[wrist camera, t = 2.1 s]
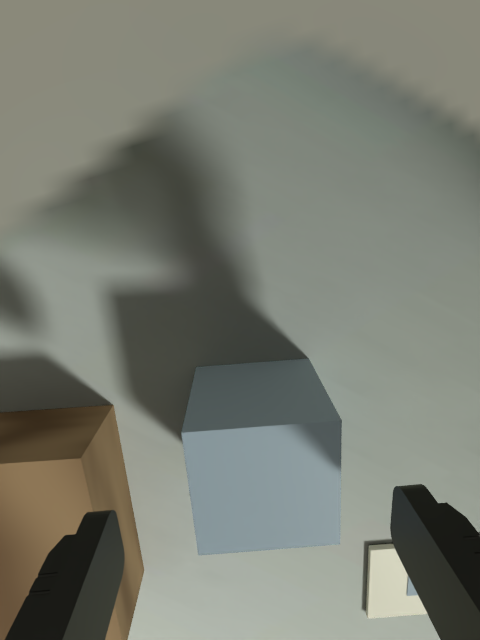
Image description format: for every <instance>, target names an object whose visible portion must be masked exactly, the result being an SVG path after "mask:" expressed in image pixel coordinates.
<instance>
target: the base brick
mask: <svg viewBox="0 0 480 640" xmlns="http://www.w3.org/2000/svg"><path fill="white" fill-rule="evenodd" d="M106 510H115V511H116V513H117V518H118V522H119V527H120V532H121V537H122V542H123V546H124V553H125V562H124V571H123V576H122V580H121V583H120V587H119V591H118V594H117V598H116V602H115V605H114V609H113V613H112V616H111V620H110V623H109V627H108V631H107V634H106V638H105V640H127V639H128V635H129V631H130V627H131V622H132V618H133V614H134V610H135V606H136V602H137V598H138V594H139V589H140V585H141V581H142V577H143V573H144V566H143V561H142V556H141V550H140V545H139V540H138V534H137V529H136V523H135V518H134V513H133V507H132V502H131V497H130V491H129V486H128V481H127V475H126V470H125V464H124V459H123V454H122V448H121V443H120V438H119V432H118V427H117V422H116V416H115V411H114V406H113V405H104V406H89V407H75V408H60V409H45V410H31V411H16V412H2V413H0V640H5V638H6V636H7V634H8V632H9V630H10V628H11V626H12V624H13V622H14V620H15V618H16V616H17V614H18V612H19V610H20V608H21V606H22V604H23V602H24V600H25V598H26V596H28V595H29V591H30V589H31V587H32V585H33V583H34V581H35V579H36V578H37V577H38V573H39V571H40V569H41V567H42V565H43V563H44V561H45V559H46V557H47V555H48V553H49V552H50V551H51V550H52V549H53V548H54V547H55V546H56V544H57V543H58V542H59V541H60V540H61V539H62V538H63V537H64V536H65V535H73V534H76V532H77V530H78V527H79V525H80V523H81V521H82V519H83V517H84V515H85V514H86V513H87V512H94V511H106Z"/></svg>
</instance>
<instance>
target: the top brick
mask: <svg viewBox="0 0 480 640" xmlns="http://www.w3.org/2000/svg"><path fill="white" fill-rule="evenodd" d="M341 427H342V420H341V418H340V416H339V415H338V413H337V411H336V409H335V407H334V405H333V403H332V401H331V400H330V398H329V396H328V394H327V392H326V390H325V388H324V386H323V384H322V383H321V381H320V379H319V377H318V375H317V373H316V371H315V369H314V367H313V366H312V364H311V362H310V360H309V358H307V359H294V360H281V361H268V362H255V363H242V364H229V365H216V366H203V367H196V370H195V374H194V379H193V383H192V388H191V392H190V397H189V401H188V405H187V410H186V414H185V419H184V423H183V428H182V432H181V434H182V441H183V448H184V455H185V462H186V470H187V477H188V484H189V491H190V498H191V505H192V513H193V520H194V527H195V534H196V541H197V548H198V555H210V554H223V553H236V552H248V551H261V550H274V549H287V548H299V547H312V546H325V545H338V544H340V513H341Z"/></svg>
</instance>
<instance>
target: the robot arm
mask: <svg viewBox="0 0 480 640" xmlns="http://www.w3.org/2000/svg"><path fill="white" fill-rule="evenodd" d="M390 529H391V537H392V541H393V545H394V547H395V550H396V552H397V554H398V556H399V558H400V560H401V562H402V564H403V566H404V568H405V570H406V572H407V574H408V576H409V578H410V580H411V582H412V584H413V586H414V588H415V590H416V592H417V594H418V596H419V598H420V600H421V602H422V604H423V606H424V608H425V610H426V612H427V614H428V616H429V618H430V620H431V622H432V623H433V625H434V627H435V629H436V631H437V633H438V635H439V637H440V639H441V640H480V534H479V533H478V532H477V531H476V529H475V528H474V527H473V526H472V524H471V523H470V522H469V520H468V519H467V518H466V517H465V516H464V515H462V514H461V513H460V512H458V511H457V510H456V509H454V508H453V507H452V506H450V505H449V504H448V503H437V501H436V500H435V499H434V497H433V496H432V495H431V493H430V492H429V491H428V489H427V488H426V487H425V486H424V485H422V484H418V485H407V486H396V487H395V488H394V490H393V500H392V513H391V526H390ZM124 562H125V553H124V546H123V542H122V537H121V532H120V527H119V522H118V518H117V513H116V511H115V510H106V511H94V512H87V513H86V514H85V515H84V517H83V519H82V521H81V523H80V525H79V527H78V530H77V532H76V534H73V535H65V536H64V537H63V538H62V539H61V540H60V541H59V542H58V543H57V544H56V546H55V547H54V548H53V549H52V550H51V551H50V552H49V553H48V555H47V557H46V559H45V561H44V563H43V565H42V567H41V569H40V571H39V573H38V577H37V578H36V579H35V581H34V583H33V585H32V587H31V589H30V591H29V595H28V596H26V598H25V600H24V602H23V604H22V606H21V608H20V610H19V612H18V614H17V616H16V618H15V620H14V622H13V624H12V626H11V628H10V630H9V632H8V634H7V636H6V638H5V640H105V638H106V634H107V631H108V627H109V623H110V620H111V616H112V613H113V609H114V605H115V602H116V598H117V594H118V591H119V587H120V583H121V580H122V576H123V571H124Z"/></svg>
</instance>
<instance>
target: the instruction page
mask: <svg viewBox="0 0 480 640" xmlns="http://www.w3.org/2000/svg"><path fill="white" fill-rule="evenodd" d="M419 614H427V612H426V610H425V608H424V606H423V604H422V602H421V600H420V598H419V596H418V594H417V592H416V590H415V588H414V586H413V584H412V582H411V580H410V578H409V576H408V574H407V572H406V570H405V568H404V566H403V564H402V562H401V560H400V558H399V556H398V554H397V552H396V550H395V547H394V545H393V544H380V545H369V549H368V573H367V598H366V615H367V618H381V617H394V616H406V615H419Z"/></svg>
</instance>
